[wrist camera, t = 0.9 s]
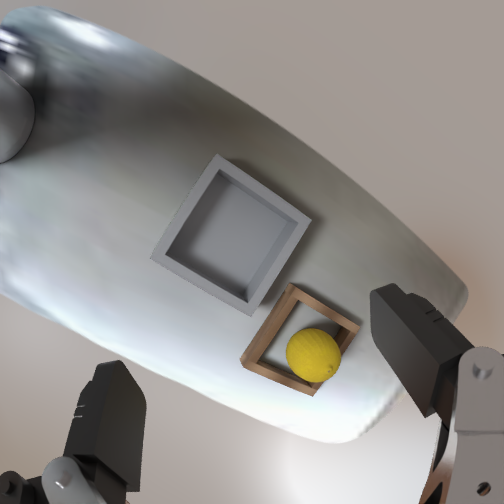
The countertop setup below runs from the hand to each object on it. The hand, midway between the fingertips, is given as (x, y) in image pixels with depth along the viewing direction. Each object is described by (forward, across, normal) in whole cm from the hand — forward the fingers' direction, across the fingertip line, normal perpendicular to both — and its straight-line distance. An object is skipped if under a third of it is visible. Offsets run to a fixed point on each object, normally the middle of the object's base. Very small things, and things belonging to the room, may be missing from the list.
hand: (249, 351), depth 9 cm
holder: (+23, 0, +5) cm, 24 cm away
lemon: (+21, -4, +19) cm, 29 cm away
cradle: (+21, -4, +19) cm, 29 cm away
